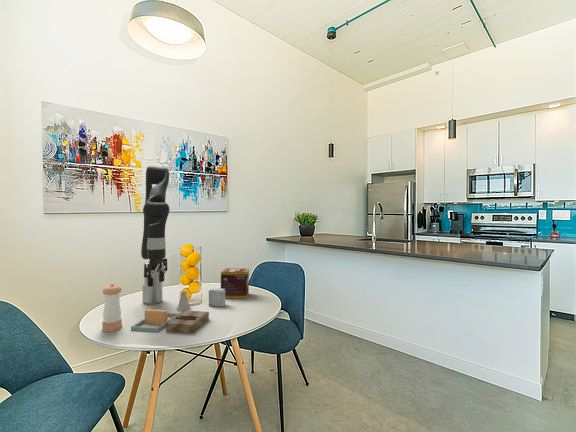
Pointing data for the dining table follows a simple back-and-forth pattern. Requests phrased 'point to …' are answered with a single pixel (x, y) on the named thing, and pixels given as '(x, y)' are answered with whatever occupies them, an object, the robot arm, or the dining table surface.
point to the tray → (150, 329)
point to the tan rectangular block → (155, 316)
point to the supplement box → (235, 283)
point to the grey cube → (217, 297)
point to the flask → (183, 302)
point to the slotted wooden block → (187, 321)
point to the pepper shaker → (112, 309)
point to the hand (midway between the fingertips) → (156, 283)
